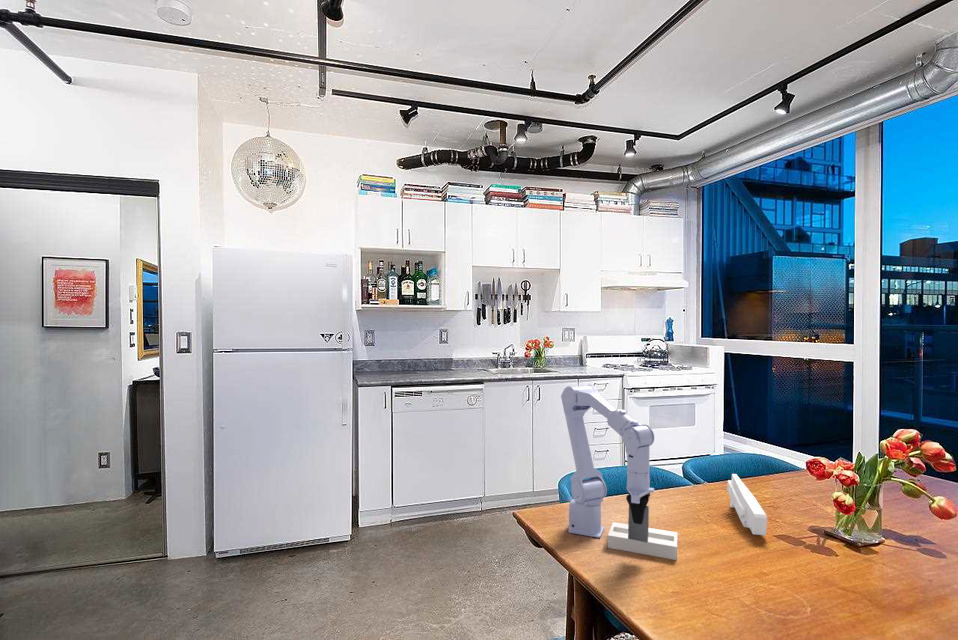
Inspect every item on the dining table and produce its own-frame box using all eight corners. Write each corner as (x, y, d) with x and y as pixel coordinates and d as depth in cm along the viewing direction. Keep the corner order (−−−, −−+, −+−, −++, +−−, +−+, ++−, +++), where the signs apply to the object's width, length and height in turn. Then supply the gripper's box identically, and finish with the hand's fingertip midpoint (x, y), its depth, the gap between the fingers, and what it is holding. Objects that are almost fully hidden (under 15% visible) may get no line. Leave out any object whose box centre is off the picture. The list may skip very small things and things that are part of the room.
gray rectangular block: (628, 538, 129) (628, 505, 129) (629, 535, 131) (629, 502, 131) (647, 542, 127) (648, 508, 127) (648, 539, 129) (649, 506, 129)
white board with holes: (607, 547, 135) (607, 535, 135) (613, 533, 145) (612, 522, 145) (676, 560, 128) (676, 546, 128) (677, 544, 137) (677, 532, 137)
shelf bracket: (740, 507, 166) (742, 474, 164) (768, 555, 142) (771, 516, 140) (723, 506, 167) (725, 473, 165) (748, 553, 143) (751, 515, 141)
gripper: (651, 480, 121) (651, 534, 121) (656, 465, 134) (656, 514, 134) (622, 476, 124) (622, 529, 124) (629, 462, 137) (629, 510, 137)
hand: (638, 521), depth 129 cm, fingers closed on gray rectangular block, 2 cm apart
